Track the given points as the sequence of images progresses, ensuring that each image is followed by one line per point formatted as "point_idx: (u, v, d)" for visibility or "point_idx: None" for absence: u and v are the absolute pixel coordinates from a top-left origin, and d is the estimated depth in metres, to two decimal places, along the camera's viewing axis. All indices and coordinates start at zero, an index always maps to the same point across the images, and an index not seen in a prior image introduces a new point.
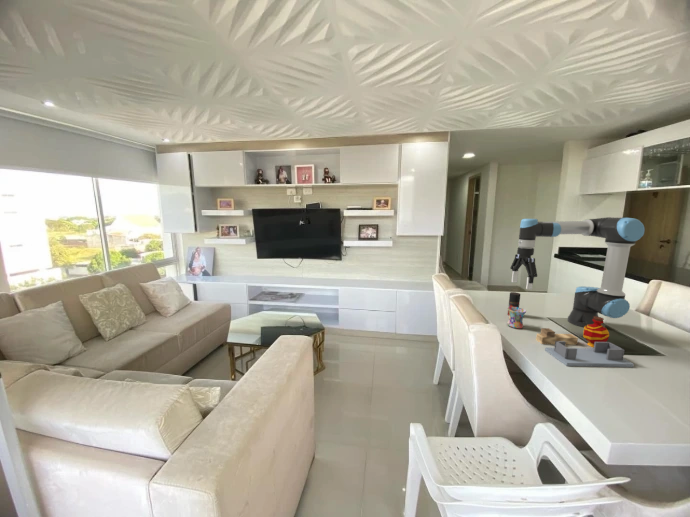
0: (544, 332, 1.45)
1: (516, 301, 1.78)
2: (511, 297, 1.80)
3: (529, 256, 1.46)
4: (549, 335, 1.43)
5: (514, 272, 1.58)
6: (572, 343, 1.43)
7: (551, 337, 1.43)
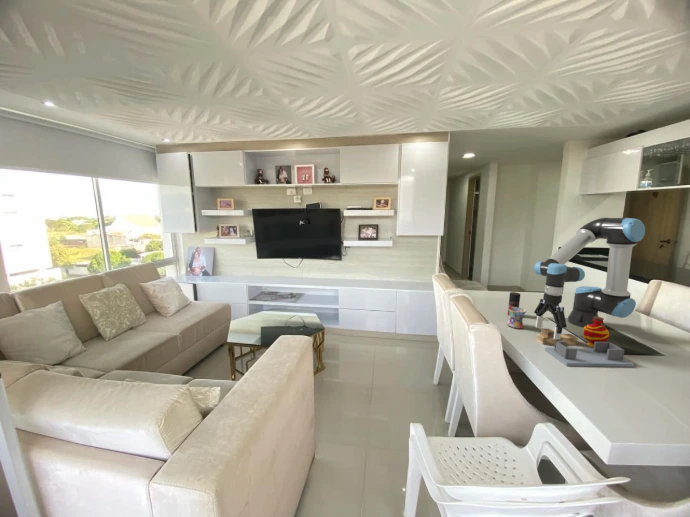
0: (544, 332, 1.44)
1: (516, 301, 1.78)
2: (511, 297, 1.80)
3: (557, 304, 1.38)
4: (550, 335, 1.42)
5: (539, 317, 1.50)
6: (572, 343, 1.43)
7: (552, 337, 1.42)
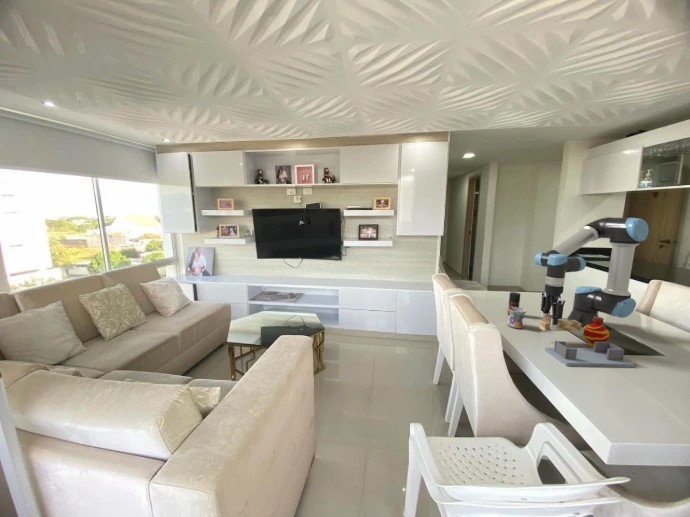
0: (546, 318, 1.43)
1: (516, 301, 1.78)
2: (511, 297, 1.80)
3: (559, 295, 1.37)
4: None
5: None
6: (575, 329, 1.42)
7: None
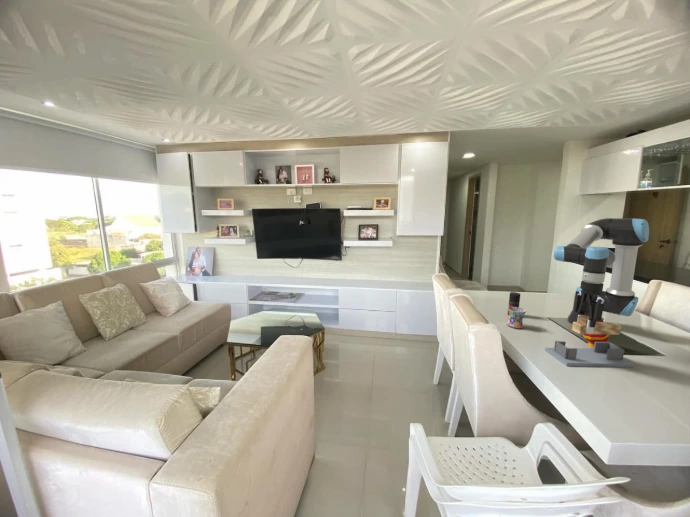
0: (582, 320, 1.26)
1: (516, 301, 1.78)
2: (511, 297, 1.80)
3: (598, 293, 1.20)
4: None
5: None
6: (614, 332, 1.25)
7: None
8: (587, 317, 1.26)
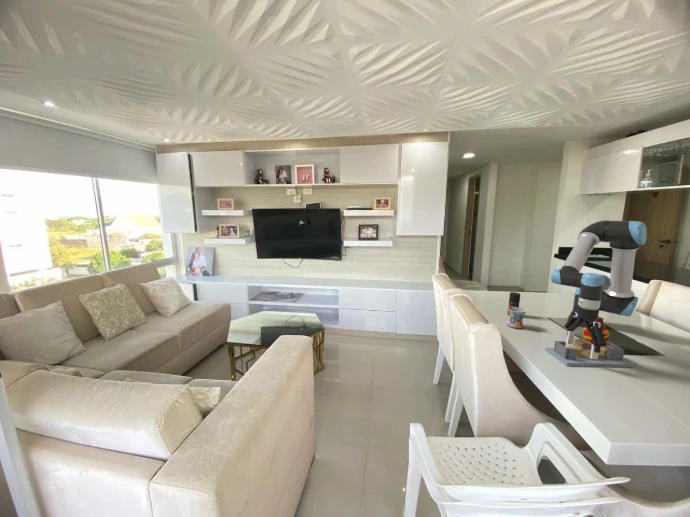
0: (578, 343, 1.28)
1: (516, 301, 1.78)
2: (511, 297, 1.80)
3: (594, 319, 1.22)
4: (584, 347, 1.26)
5: (570, 332, 1.34)
6: None
7: (587, 349, 1.26)
8: (583, 341, 1.28)
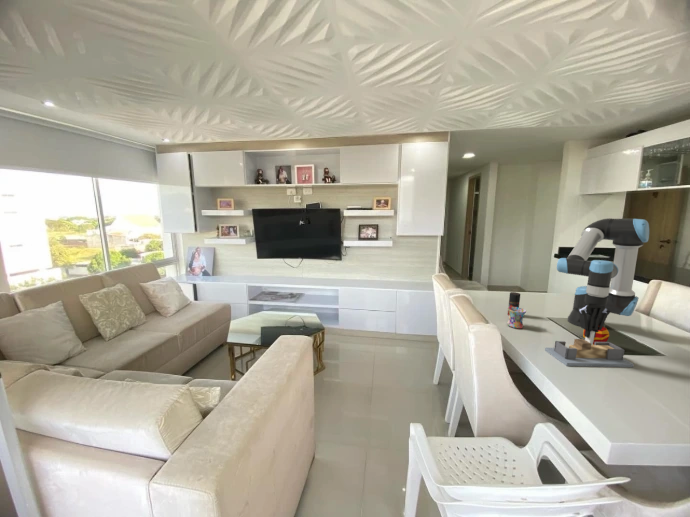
0: (578, 343, 1.28)
1: (516, 301, 1.78)
2: (511, 297, 1.80)
3: (587, 303, 1.25)
4: (584, 347, 1.26)
5: None
6: None
7: (587, 349, 1.26)
8: (583, 341, 1.28)
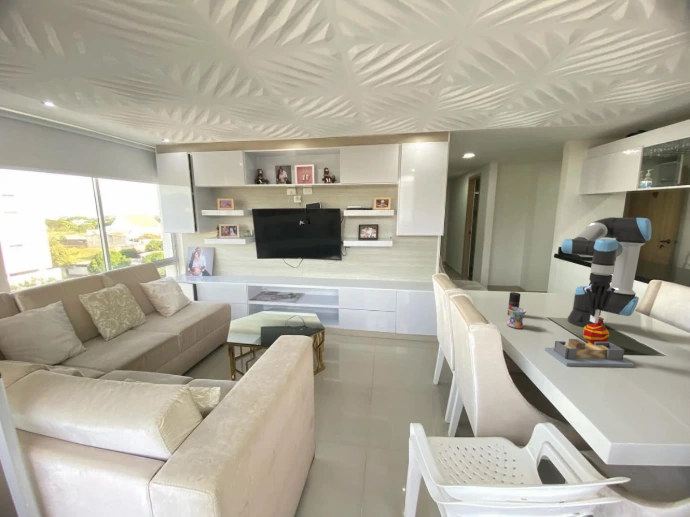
0: (572, 343, 1.28)
1: (516, 301, 1.78)
2: (511, 297, 1.80)
3: (591, 282, 1.26)
4: (579, 347, 1.26)
5: None
6: (604, 356, 1.27)
7: (581, 349, 1.26)
8: (577, 341, 1.28)
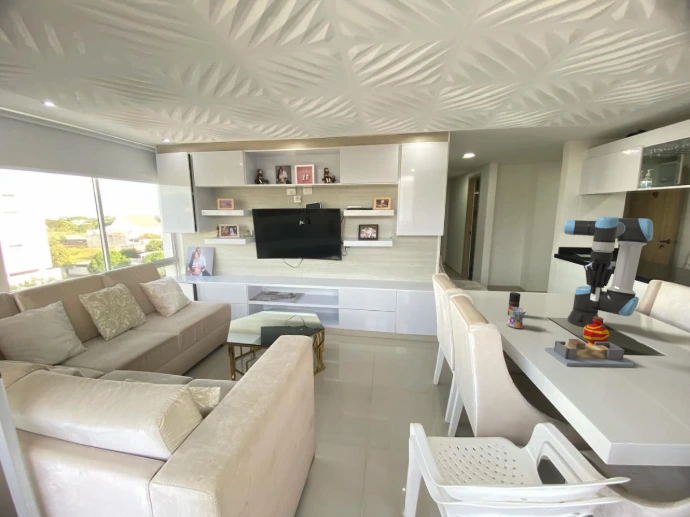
0: (572, 343, 1.28)
1: (516, 301, 1.78)
2: (511, 297, 1.80)
3: (592, 260, 1.28)
4: (579, 347, 1.26)
5: None
6: (604, 356, 1.27)
7: (581, 349, 1.26)
8: (577, 341, 1.28)
